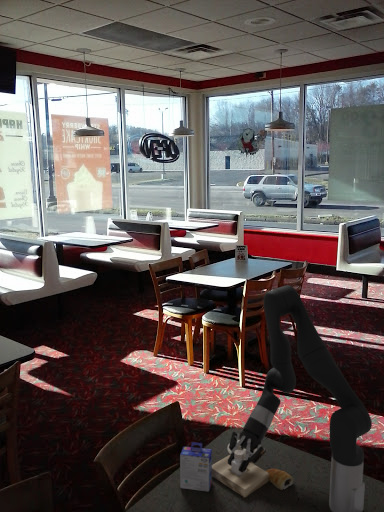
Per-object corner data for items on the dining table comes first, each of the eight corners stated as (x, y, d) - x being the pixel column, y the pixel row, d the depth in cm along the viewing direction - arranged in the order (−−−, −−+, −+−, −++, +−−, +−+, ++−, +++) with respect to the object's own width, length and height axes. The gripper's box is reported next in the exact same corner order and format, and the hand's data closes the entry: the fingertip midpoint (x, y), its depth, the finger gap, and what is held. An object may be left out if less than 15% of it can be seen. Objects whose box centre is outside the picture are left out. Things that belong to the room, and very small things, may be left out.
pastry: (260, 477, 167) (261, 467, 166) (275, 470, 171) (275, 460, 170) (281, 492, 160) (281, 481, 159) (295, 484, 164) (296, 474, 163)
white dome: (263, 450, 182) (263, 448, 182) (243, 462, 175) (243, 460, 175) (241, 438, 190) (241, 436, 190) (221, 449, 183) (221, 447, 183)
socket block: (268, 481, 165) (268, 473, 164) (244, 497, 157) (244, 489, 156) (233, 460, 177) (233, 452, 176) (209, 474, 169) (209, 466, 168)
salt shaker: (238, 483, 164) (238, 457, 162) (230, 477, 167) (230, 451, 165) (247, 478, 166) (247, 452, 165) (239, 472, 170) (239, 447, 168)
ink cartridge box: (212, 481, 165) (212, 442, 162) (209, 492, 160) (209, 451, 157) (183, 478, 167) (183, 439, 164) (179, 488, 162) (179, 448, 159)
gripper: (238, 409, 173) (214, 455, 168) (270, 425, 163) (245, 474, 157) (248, 418, 178) (224, 462, 172) (280, 434, 167) (256, 481, 162)
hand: (235, 467), depth 165 cm, fingers closed on salt shaker, 4 cm apart
